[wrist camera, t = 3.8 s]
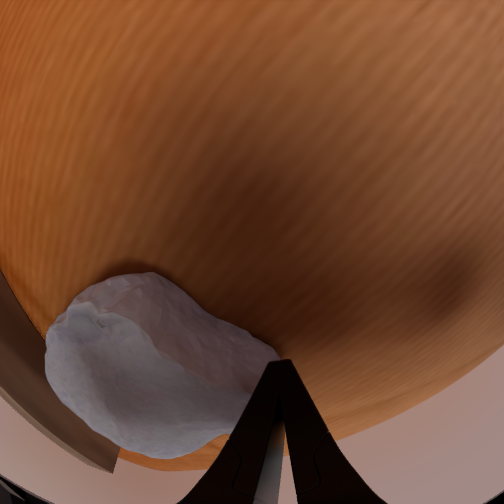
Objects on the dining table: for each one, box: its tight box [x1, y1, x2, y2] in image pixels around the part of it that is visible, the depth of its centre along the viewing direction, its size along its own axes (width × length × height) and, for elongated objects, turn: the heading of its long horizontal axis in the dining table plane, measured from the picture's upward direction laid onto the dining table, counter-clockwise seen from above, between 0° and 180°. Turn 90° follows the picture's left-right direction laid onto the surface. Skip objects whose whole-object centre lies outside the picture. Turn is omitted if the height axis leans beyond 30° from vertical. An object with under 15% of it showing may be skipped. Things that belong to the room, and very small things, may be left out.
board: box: [0, 271, 120, 473], centre depth 11 cm, size 3×24×5 cm, turn 12°
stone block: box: [45, 272, 281, 459], centre depth 12 cm, size 12×5×10 cm
